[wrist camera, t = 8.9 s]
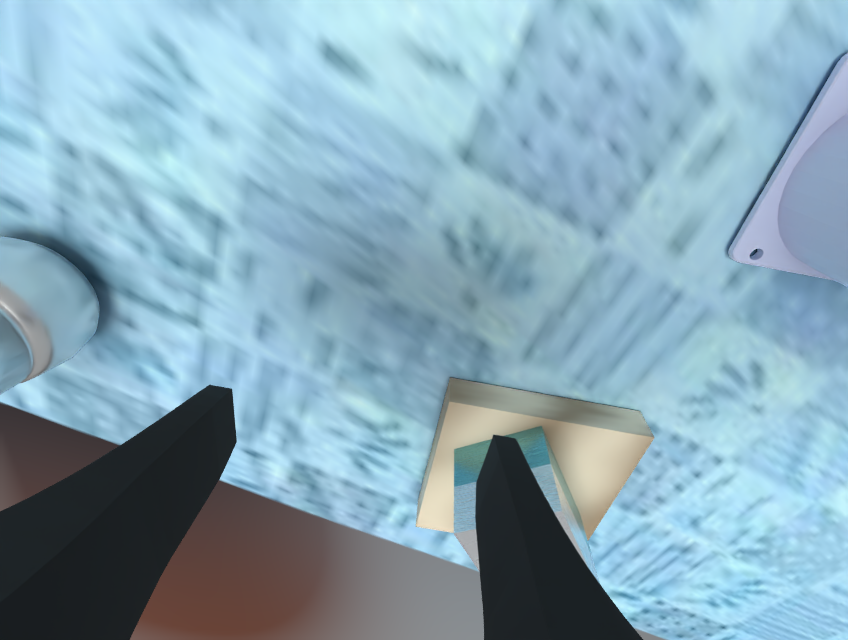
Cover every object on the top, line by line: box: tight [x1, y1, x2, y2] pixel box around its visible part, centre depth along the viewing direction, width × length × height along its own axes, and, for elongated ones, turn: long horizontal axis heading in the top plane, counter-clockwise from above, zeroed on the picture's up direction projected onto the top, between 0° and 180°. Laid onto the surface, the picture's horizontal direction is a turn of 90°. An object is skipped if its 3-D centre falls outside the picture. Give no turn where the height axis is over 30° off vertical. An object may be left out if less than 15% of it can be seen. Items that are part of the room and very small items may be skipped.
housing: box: [454, 426, 600, 584], centre depth 22 cm, size 8×5×5 cm, turn 25°
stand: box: [416, 378, 654, 540], centre depth 26 cm, size 11×11×2 cm
